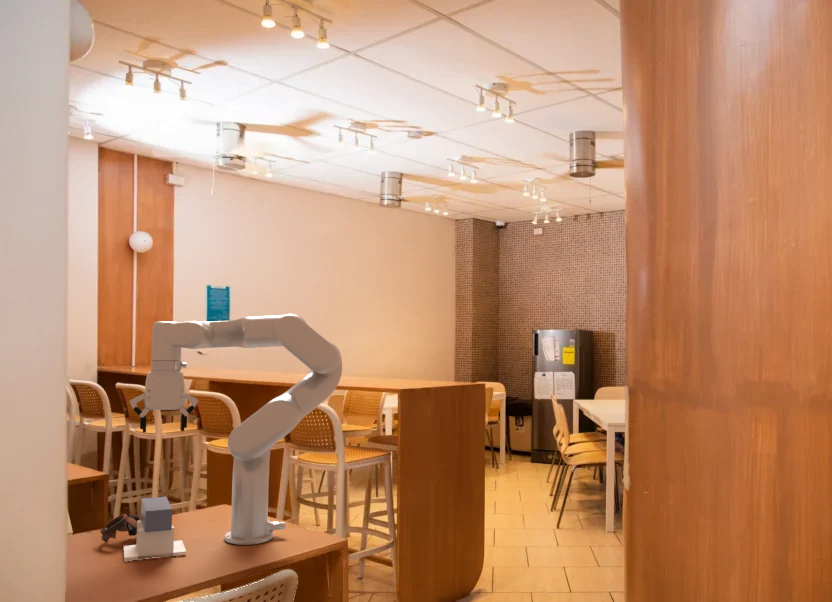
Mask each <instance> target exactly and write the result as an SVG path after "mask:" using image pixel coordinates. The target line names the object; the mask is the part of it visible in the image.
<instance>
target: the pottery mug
mask: <svg viewBox="0 0 832 602" xmlns="http://www.w3.org/2000/svg"><path fill="white" fill-rule="evenodd" d="M138 520H141V518H140V517H139V516H138V515H137V514H131V515H129V516H128V515H127V514H126V513H123V514H120V515H118V516H116V517H114V518H113V519H112V520H110V521H108V522H107V523H106V524H105V527H104V526H103V527H101V529H100V530H99V532H100V533H101V541H103V542H104V543H105V542H107V543H108V542H109V540H110V539H114V540H115V539H116V538H117V536H116V535H117V531H118V532H120V533H121V532H124V533H125V532H128V536H134V539H135V541H137V521H138ZM135 536H136V537H135Z"/></svg>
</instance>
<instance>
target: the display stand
mask: <svg viewBox="0 0 832 602" xmlns="http://www.w3.org/2000/svg"><path fill="white" fill-rule="evenodd" d="M136 537H137V541H136V540H135V541H136V544H130V545H129V544H128V545H123V551H124V552H123V560H124V563H127V562H128V561H129V562H134V561H133V560H138V561H140V560H139V559H145V558H152V557H164V556H174V555H184V554H186V555H187V550H186V547H185V545H184V541H183V540H181V539H180V540H175V526H174V525H172V530H166V531H156V532H145V531H144V527H143V524H142V521H141V519H140V520H138V521H137V534H136ZM129 562H128V563H129Z"/></svg>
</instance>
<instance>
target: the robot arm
mask: <svg viewBox="0 0 832 602" xmlns="http://www.w3.org/2000/svg"><path fill="white" fill-rule="evenodd" d="M151 332H152V333H151V336H152V337H151V360H150V371H148V372H147V374H146V379H145V385H144V393H142V394H140V395H138V396H136V397H134V398H132V399H130V400H129V404H130V406H131V407H132V409H133V411H134V412H135V413H136V414H137V415H138V416H139V417H140V421H139V422H140V423H139V430H142V433H146V432H147V417H146V416H147V414H148V413H149V412H150V411H167V410H170V411H174V410H175V411H176V410H179V411H180V413H181V416H180V425H179V426H180V428H179V429H180V431H182V432H185V428H186V429H187V427H188V416H189V414H191V413H192V412H193V411H194V410H195V407H197V406H198V403H199V399H198V398H196V397H194V396H193V395H191V394H188V393H186V392H185V390H186V389H185V378H184V373H183V371H182V369H186V368H187V362H183V361H182V348H183V349H191V350H198V349H214V348H216V349H217V348H233V347H234V348H242V349H243V348H244V349H253V348H254V349H255V348H271V347H272V348H273V347H275V348H276V347H283V348H285V350H287V351H288V352H289V353H290V354H292V355H293V356H294V357H295V358H296V359H298V360H299V361H300V362H301V363H302V364H304V366H306V367H307V368H308V369H310V371H309V372H308V373H307V374H306V375H305V376H303V378H301V379H300V380H299V381H297V383H295V384H294V385H293V386H291V387H290V388H289V389H287V390H286V391H285V392H284V393H282V394H280V395H278V396H276V397H274V398H272V399H271V400H269V401H268V402H266V404H264V405H263V406H262V407H260V408H259V409H258V410H257V411H255V412H254V413H253V414H251V415H250V416H249V417H247V418H246V419H245V420H244V421H242V422H240V423H239V424H238V425H237V426H236V427H234V428H233V429H232V430H231V432H230V434H229V435H228V439H227V447H228V448H227V449H228V451H229V453H230V454H231V456H232V457H233V461H232V462H233V464H232V483H231V486H232V487H231V513H230V514H231V515H230V516H231V517H230V530H229V531H227V532H226V533H225V534H224V541H225V542H227V543H228V544H232V545H238V546H239V545H240V546H243V545H244V546H248V545H258V544H262V543H263V544H264V543H267V542H269V541H271V540H272V539H273V538H274V533H273V532H274V531H276V530H278V531H280V530H285V529H286V522H285V521H282V522H281V521H280V522H279V521H278V520H277V521H271V520H270V519H269V518H268V516H269V515H268V513H269V512H268V511H269V487H270V486H269V484H270V483H269V481H270V462H271V461H270V459H271V458H270V457H271V449H272V448H271V447H273V446H274V445H275V444H277V443H278V442H280V441H281V440H282V439H283V438H285V437H286V436H287V435H288V434H290V433H291V432H292V431H293V430H294V429H296V427H297V426H298V424H299V423H300V422H301V420H303V419H304V418H306V416H307V415H308V414H310V413H311V412H312V411H314V410H315V409H316V408H317V407H318V406H320V405H321V404H322V403H324V402H325V401H326V400H327V399H328V398H329V397H330V396H331V395H332V394H333V393H334V391H336V389H337V387H338V385H339V383H340V380H341V378H342V373H343V361H342V360H343V359H342V355H341V351H340V349H339V348H338V346H336V345H335V344H334V343H332V342H330V341H328V340H327V339H326V338H324V337H323V336H322V335H321V334H320V333H318V332H317V331H316V330H314V329H313V328H312V327H311V326H310V325H309V324H308V323H307V321H306V320H305V319H304V318H303V317H302V316H300V315H298V314H293V313H287V314H280V315H279V314H278V315H261V316H260V315H258V316H255V315H254V316H245V317H244V316H243V317H241V318H238V319H233V320H231V319H230V320H217V321H216V320H215V321H201V320H187V321H180V322H178V321H172V320H171V321H169V320H168V321H166V320H162V321H161V320H159V321H158V320H157V321H155V322H154V323H153V325H152V331H151ZM186 400H188V401H189V402H191V403H190V405H189V406H188V407H187V408H185V405H186V403H185V401H186ZM141 401H143V406H144V407H143V409H142V410H141V409H140V408H139V407H138V405H137V404H138V403H140V402H141Z"/></svg>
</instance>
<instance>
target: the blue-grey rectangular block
mask: <svg viewBox="0 0 832 602" xmlns="http://www.w3.org/2000/svg"><path fill="white" fill-rule="evenodd" d="M140 520H141V521H142V524H143V527H144V531H145V532H156V531H166V530H172V526H173V507H172V505H171V504H170V501H169V499H168V497H167V496H158V497H157V496H156V497H143V498H142V497H141V504H140Z"/></svg>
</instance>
